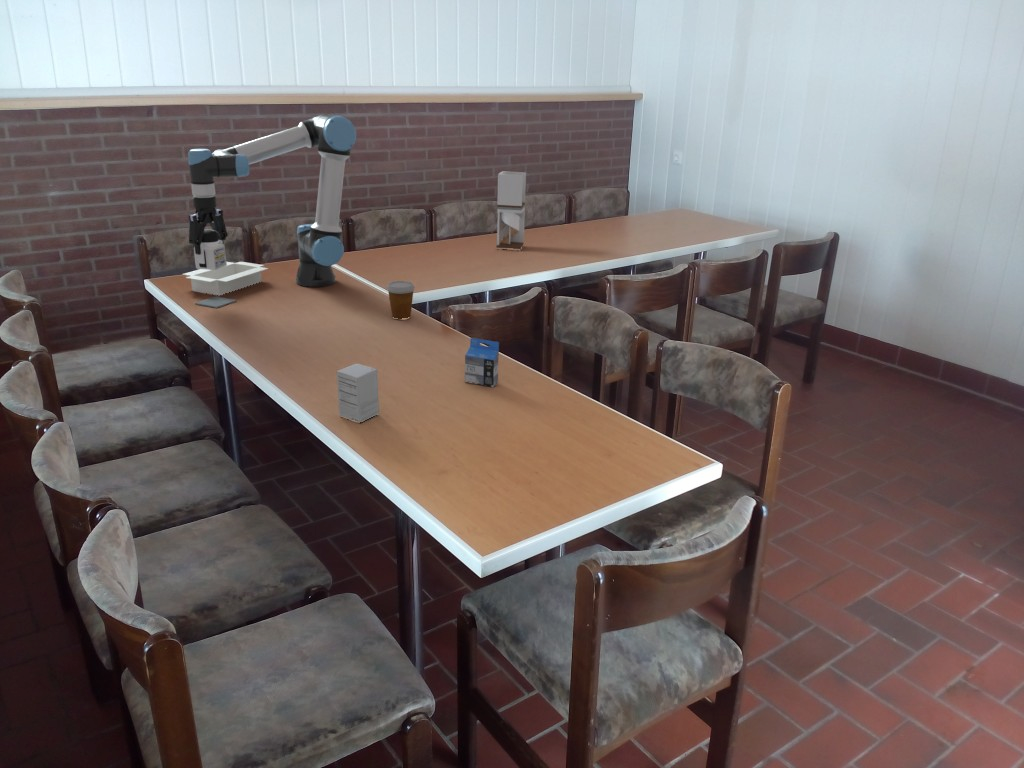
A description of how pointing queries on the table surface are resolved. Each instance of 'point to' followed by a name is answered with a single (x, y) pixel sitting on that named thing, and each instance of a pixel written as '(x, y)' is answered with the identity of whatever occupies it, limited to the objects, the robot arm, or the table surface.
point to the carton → (225, 278)
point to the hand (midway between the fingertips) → (211, 260)
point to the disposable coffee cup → (401, 298)
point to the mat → (215, 302)
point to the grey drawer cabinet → (358, 392)
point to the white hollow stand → (511, 209)
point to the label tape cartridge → (482, 362)
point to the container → (211, 252)
